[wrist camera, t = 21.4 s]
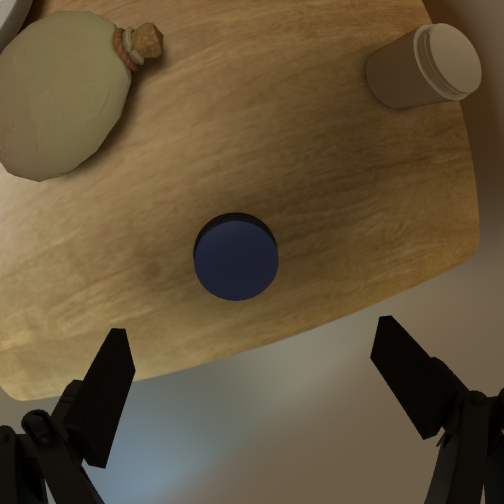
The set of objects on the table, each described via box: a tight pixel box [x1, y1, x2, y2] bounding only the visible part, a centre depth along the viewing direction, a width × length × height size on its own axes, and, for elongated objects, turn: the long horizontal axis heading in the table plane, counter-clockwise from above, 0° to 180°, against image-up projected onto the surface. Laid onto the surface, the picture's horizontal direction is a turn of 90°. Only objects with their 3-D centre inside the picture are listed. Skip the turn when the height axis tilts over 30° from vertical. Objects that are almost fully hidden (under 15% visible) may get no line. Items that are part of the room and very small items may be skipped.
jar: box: [365, 23, 481, 109], centre depth 20 cm, size 7×7×11 cm
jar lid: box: [194, 216, 279, 301], centre depth 28 cm, size 8×8×2 cm
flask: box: [0, 11, 163, 182], centre depth 19 cm, size 9×16×18 cm
